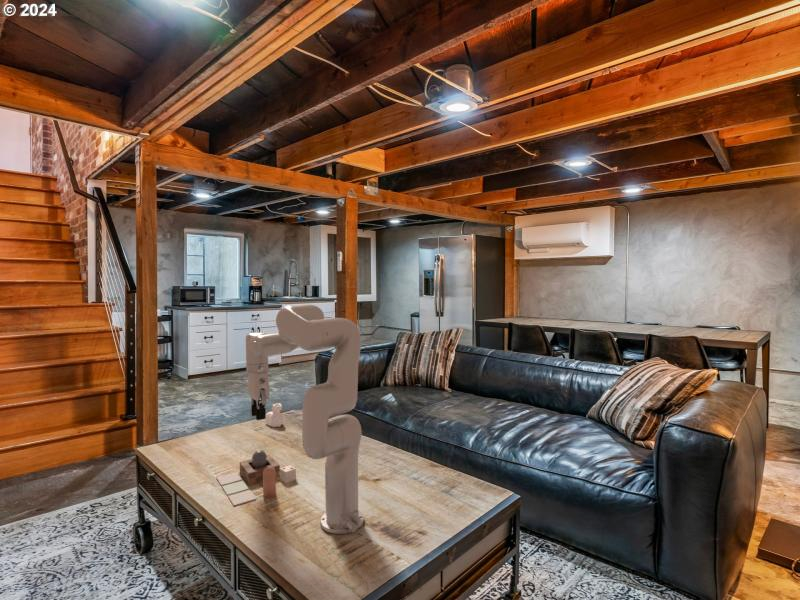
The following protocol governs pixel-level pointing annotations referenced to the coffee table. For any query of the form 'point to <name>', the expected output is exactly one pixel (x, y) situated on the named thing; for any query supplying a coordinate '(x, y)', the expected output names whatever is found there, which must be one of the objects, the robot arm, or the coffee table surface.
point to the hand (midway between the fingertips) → (258, 416)
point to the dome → (259, 459)
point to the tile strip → (236, 489)
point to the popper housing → (257, 470)
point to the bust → (275, 416)
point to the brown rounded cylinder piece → (269, 482)
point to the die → (287, 473)
